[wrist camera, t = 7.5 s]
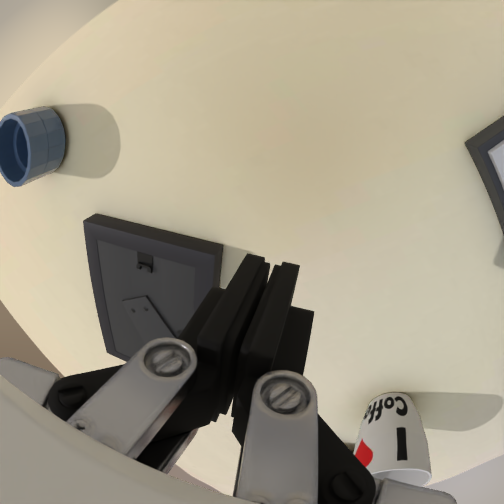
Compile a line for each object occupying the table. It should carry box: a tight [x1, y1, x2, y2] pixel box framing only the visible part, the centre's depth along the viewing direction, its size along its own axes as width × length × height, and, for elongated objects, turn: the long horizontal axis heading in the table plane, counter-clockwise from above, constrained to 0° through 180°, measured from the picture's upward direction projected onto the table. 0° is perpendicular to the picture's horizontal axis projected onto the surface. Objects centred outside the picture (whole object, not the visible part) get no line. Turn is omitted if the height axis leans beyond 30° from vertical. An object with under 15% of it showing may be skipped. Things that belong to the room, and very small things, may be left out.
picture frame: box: [83, 214, 223, 362], centre depth 30 cm, size 13×2×18 cm
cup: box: [353, 392, 432, 487], centre depth 25 cm, size 8×8×10 cm
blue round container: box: [0, 106, 65, 187], centre depth 23 cm, size 7×7×5 cm
